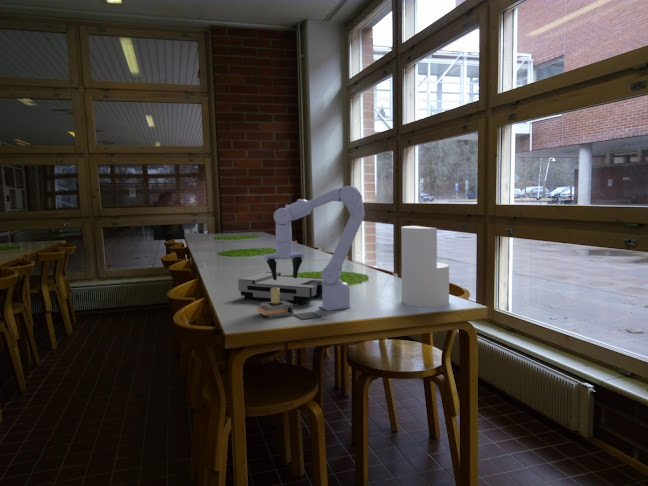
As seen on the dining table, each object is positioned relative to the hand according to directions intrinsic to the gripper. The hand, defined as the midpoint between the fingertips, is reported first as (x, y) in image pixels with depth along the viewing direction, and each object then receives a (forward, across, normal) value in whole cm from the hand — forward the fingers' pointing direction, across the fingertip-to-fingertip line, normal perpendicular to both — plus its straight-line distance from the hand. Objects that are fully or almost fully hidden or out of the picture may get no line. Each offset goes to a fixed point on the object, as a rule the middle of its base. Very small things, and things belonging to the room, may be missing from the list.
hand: (285, 278), depth 167 cm
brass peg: (+10, -6, -9) cm, 15 cm away
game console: (+11, +5, +16) cm, 20 cm away
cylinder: (+11, +50, -15) cm, 53 cm away
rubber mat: (+10, +3, -16) cm, 20 cm away
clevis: (+10, -6, -9) cm, 15 cm away
